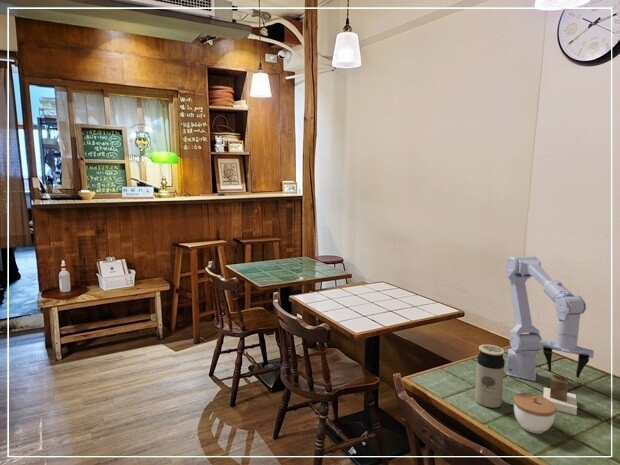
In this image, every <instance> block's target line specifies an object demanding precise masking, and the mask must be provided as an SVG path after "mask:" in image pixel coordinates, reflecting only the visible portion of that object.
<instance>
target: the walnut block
mask: <svg viewBox="0 0 620 465" xmlns="http://www.w3.org/2000/svg"><path fill="white" fill-rule="evenodd" d="M550 389H551V391H550V398H553V399H557V400H561V401H565V402H566V401H567V393H568V389H569V377H564V376H561V375H557V374H552V375H551V381H550Z"/></svg>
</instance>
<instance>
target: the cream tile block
mask: <svg viewBox="0 0 620 465" xmlns="http://www.w3.org/2000/svg"><path fill="white" fill-rule="evenodd" d="M550 391H551V388H548V387H545V386H544V387H543V396H542V397H544V398H546V399H548V400H550V401H551V402H552V403H553V404H554V405H555V407H556V411H557V412H561V413H562V412H563V413H565V414H570V415H572V416H577V415H578V414H577V413H578V403H577V394H574V393H571V392H567V401H566V402H565V401H561V400H557V399H553V398H550Z"/></svg>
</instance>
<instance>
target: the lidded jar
mask: <svg viewBox="0 0 620 465" xmlns="http://www.w3.org/2000/svg"><path fill="white" fill-rule="evenodd" d="M556 411H557V410H556V407H555V405H554V404H553V403H552V402H551V401H550V400H548V399H546V398H544V397H543V396H541V395H540V394H535V393H528V392H520V393H518V394H517V393H516V394H515V395H514V397H513V413H514V416H515V419H516V421H517V422H518V423H519V425H520V427H521V428H522V429H523V430H525V431H526V432H528V433H532V434H536V435H537V434H538V435H539V434H543V433H544V432H545V431H548V430H549V429H550V428H551V427H552V426H553V424H554V422H555V417H556Z"/></svg>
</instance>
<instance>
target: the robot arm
mask: <svg viewBox="0 0 620 465" xmlns="http://www.w3.org/2000/svg"><path fill="white" fill-rule="evenodd" d="M505 269H506V271H505V272H506V277H507V279H508V281H509V288H510V289H509V290H510V296H511V299H512V300H511V301H512V308H513V314H514V315H513V316H514V320H515V326H514V327H513V328H512V329H511V330H509V333H510V334H509V337H510V338H509V344H510V347H511V348H508V352H507V359H506V360H507V362H506V364H505V367H506V375H507V376H511V377H515V378H517V379H518V378H520V379H523V380H529V381H532V382H536V380H537V379H536V378H537V371H536V365H537V364H536V363H537V354H539V352H540V351H541V350H542V351H543V355H544V357H545V360H546V363H547V368H548V370H547V371H548V372H550V373H551V371H552V356H553V351H558V352H561V353H562V352H563V353H566V354H574V355H578V357H577V359H578V360H577V366H576V367H577V368H576V373H575V374H576V378H579V379H580V376H581V373H582V371H583V369H584V368H585V367H586V365H588V363H589V361H590V358H591V359H594V355H595V352H594V350H593V349H589V348H585V347H582V346H578V340H579V330H580V322H581V315H583V314H584V313H585V312H586V309H587V304H586V302H585V300H584V299H583V297H582V296H581V295H575V294H574V293H572V292H571V291H570V290H568V289H567V287H565V286H564V285H563V283H562V281H560V280H556V279H555V280H553V278H552V277H551V276H550V275H549V274H548V273H547V271H545V270H544V268H543V267H542V262H541V260H539V259H538V258H537V256H534V255H532V256H531V255H530V256H510V257H508V258H507V260H506V262H505ZM531 278H533V279H535V280H536V281H537V282H538V283H539V284H540V285H542V286H543V292H544V294H545V295H547V296H548V297H549V299H550V300H551V301H552V302H554V307H555V310H556V316H557V326H556V328H557V329H556V338H555V341H551V340H550V341H549V340H548V341H547V340H543V338H542V336H541V334H540V329H538V328H537V327H535V326H534V325H533V322H532V316H531V310H530V304H529V298H528V293H527V292H528V291H527V285H526V282H527V280H529V279H531Z"/></svg>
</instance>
